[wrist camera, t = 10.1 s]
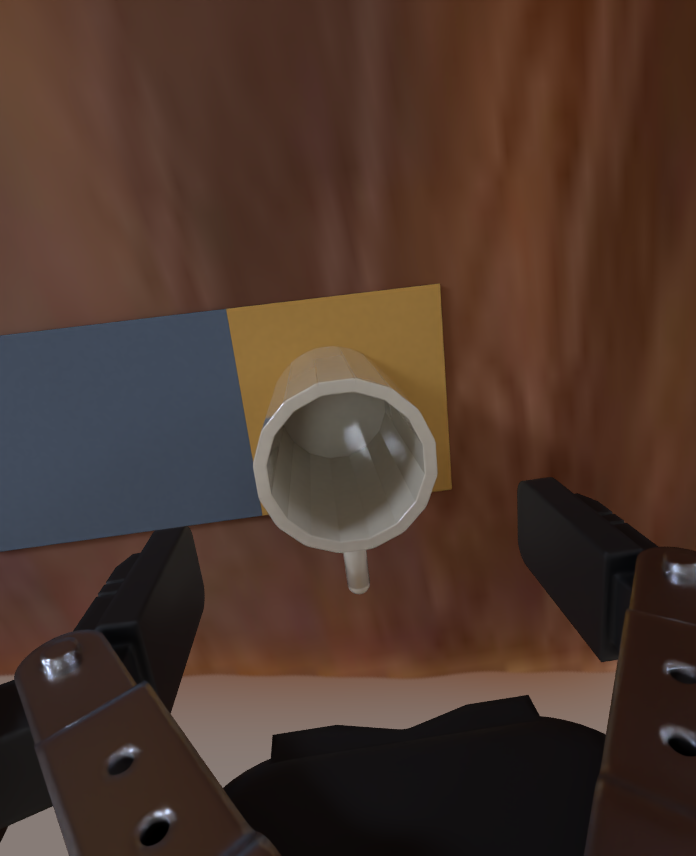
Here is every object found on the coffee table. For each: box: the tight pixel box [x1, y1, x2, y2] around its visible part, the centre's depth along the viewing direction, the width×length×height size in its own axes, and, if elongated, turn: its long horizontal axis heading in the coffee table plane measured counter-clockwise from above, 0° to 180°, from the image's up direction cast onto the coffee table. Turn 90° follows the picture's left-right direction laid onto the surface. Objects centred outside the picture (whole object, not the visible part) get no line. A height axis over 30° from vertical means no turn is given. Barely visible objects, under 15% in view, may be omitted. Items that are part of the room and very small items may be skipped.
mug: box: [253, 346, 438, 594], centre depth 21 cm, size 9×6×10 cm
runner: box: [0, 284, 452, 552], centre depth 25 cm, size 11×25×1 cm, turn 96°
